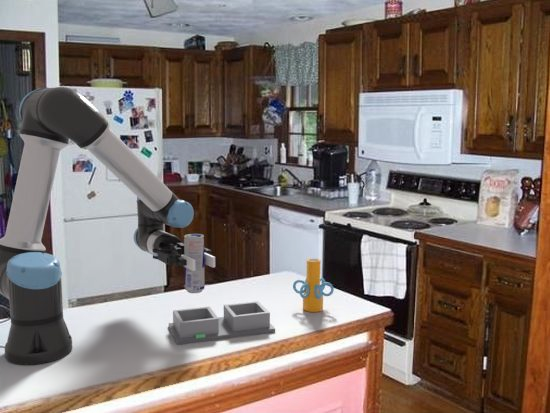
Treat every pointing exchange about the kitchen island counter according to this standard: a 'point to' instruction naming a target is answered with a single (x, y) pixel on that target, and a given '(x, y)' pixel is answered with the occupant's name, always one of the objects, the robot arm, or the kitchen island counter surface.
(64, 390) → the kitchen island counter surface
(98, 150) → the robot arm
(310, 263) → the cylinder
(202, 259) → the beverage can
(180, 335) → the double square planter tray
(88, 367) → the kitchen island counter surface
